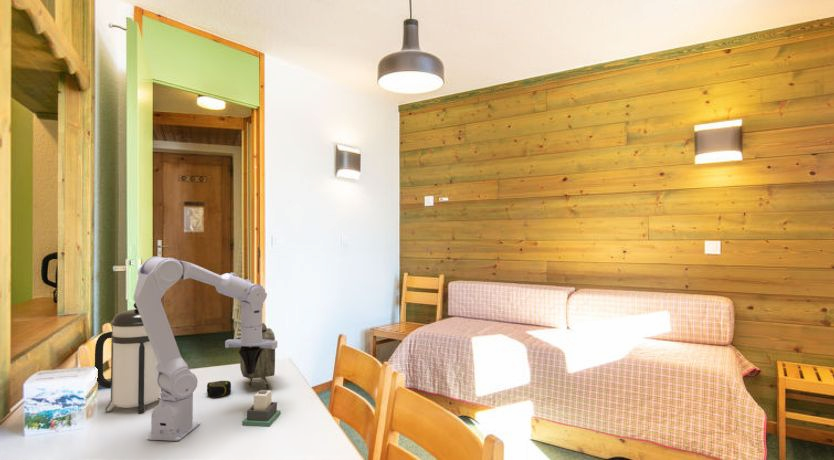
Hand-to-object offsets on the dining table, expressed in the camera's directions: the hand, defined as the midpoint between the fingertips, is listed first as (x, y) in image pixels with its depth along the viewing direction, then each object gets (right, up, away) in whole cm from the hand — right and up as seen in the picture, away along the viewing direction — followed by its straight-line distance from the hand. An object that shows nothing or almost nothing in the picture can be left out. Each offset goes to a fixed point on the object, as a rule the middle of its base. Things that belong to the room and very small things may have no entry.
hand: (251, 373), depth 128 cm
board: (+6, -10, -8) cm, 14 cm away
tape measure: (-14, -10, +10) cm, 20 cm away
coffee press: (-34, -10, 0) cm, 36 cm away
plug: (+6, -9, -8) cm, 13 cm away
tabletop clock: (-5, -10, +18) cm, 21 cm away
